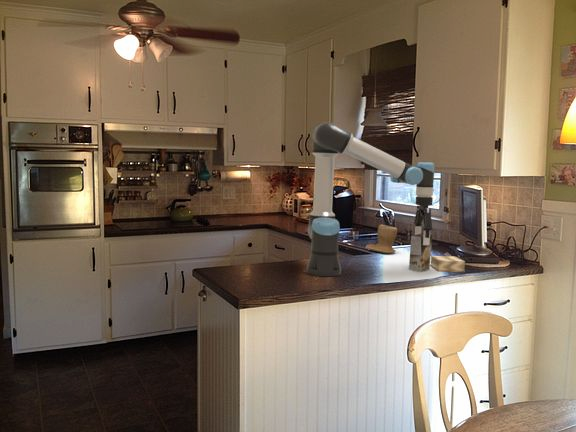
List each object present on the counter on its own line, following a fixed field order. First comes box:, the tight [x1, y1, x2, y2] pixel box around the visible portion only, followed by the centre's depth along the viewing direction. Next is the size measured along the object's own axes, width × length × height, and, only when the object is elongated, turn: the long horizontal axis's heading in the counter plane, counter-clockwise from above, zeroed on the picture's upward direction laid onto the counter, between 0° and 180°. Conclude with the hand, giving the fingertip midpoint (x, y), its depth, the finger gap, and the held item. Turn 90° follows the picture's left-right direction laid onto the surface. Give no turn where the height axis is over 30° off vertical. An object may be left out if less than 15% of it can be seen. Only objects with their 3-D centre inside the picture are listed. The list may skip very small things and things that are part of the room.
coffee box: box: [408, 233, 433, 273], centre depth 254 cm, size 9×6×16 cm
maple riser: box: [430, 255, 466, 273], centre depth 259 cm, size 12×12×5 cm
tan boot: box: [365, 224, 398, 254], centre depth 298 cm, size 15×12×15 cm
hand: (421, 242), depth 254 cm, fingers open, 13 cm apart
